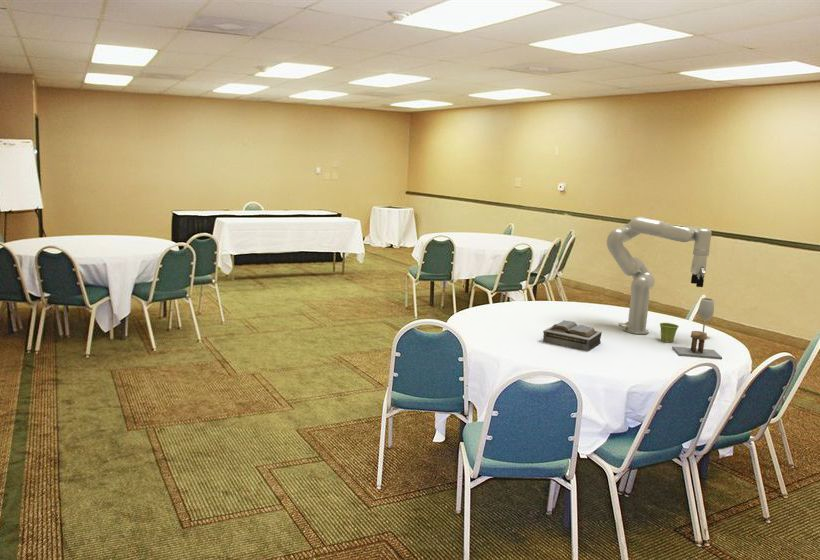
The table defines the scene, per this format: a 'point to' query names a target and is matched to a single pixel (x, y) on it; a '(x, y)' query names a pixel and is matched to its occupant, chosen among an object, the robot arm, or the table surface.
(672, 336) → the plant pot
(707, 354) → the mat
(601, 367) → the table surface
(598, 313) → the table surface
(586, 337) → the bible
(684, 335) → the table surface
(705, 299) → the wineglass
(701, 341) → the stool
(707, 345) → the table surface
